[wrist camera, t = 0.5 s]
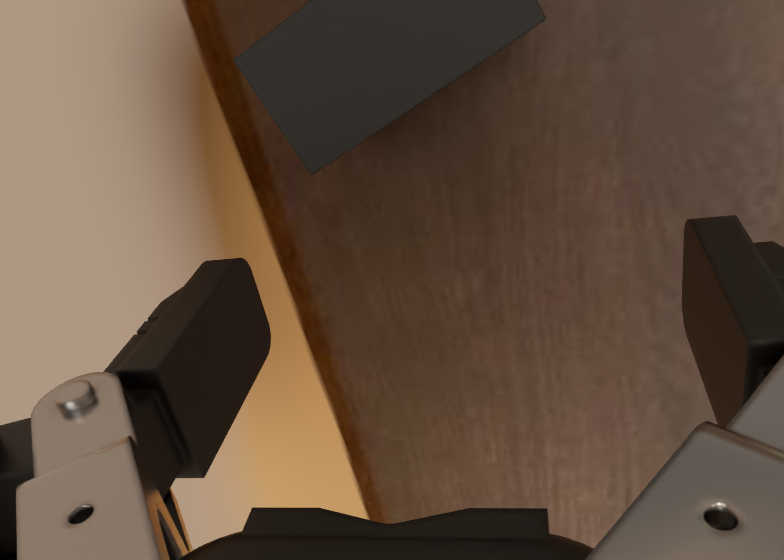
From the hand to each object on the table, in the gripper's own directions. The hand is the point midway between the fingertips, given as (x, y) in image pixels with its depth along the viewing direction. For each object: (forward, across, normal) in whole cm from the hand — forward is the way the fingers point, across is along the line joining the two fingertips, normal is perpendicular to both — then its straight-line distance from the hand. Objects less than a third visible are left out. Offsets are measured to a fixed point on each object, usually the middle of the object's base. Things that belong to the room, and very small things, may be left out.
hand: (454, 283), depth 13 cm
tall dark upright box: (+17, +3, -1) cm, 18 cm away
